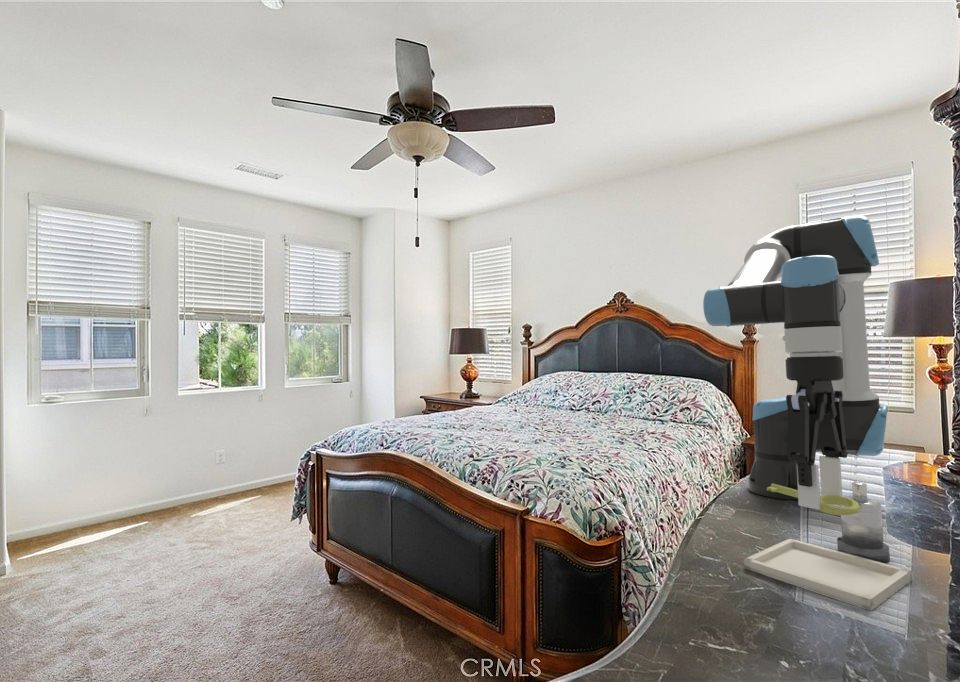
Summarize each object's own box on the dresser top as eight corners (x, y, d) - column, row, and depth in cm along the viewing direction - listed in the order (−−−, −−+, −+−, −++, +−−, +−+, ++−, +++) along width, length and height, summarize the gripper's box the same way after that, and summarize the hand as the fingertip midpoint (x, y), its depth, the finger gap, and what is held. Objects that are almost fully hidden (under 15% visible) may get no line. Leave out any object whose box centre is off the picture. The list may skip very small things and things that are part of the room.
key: (769, 495, 85) (768, 482, 85) (860, 507, 77) (859, 493, 78) (762, 504, 79) (762, 491, 79) (860, 519, 72) (859, 504, 72)
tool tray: (790, 546, 89) (789, 538, 89) (911, 580, 75) (911, 570, 75) (744, 568, 81) (743, 559, 81) (871, 610, 67) (870, 599, 67)
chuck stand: (848, 544, 89) (844, 476, 90) (896, 556, 84) (892, 484, 84) (830, 553, 86) (826, 482, 86) (880, 567, 80) (875, 491, 80)
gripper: (815, 354, 88) (823, 487, 87) (755, 356, 77) (763, 508, 76) (867, 353, 81) (875, 496, 80) (809, 355, 70) (818, 521, 70)
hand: (820, 502), depth 78 cm, fingers closed on key, 7 cm apart
